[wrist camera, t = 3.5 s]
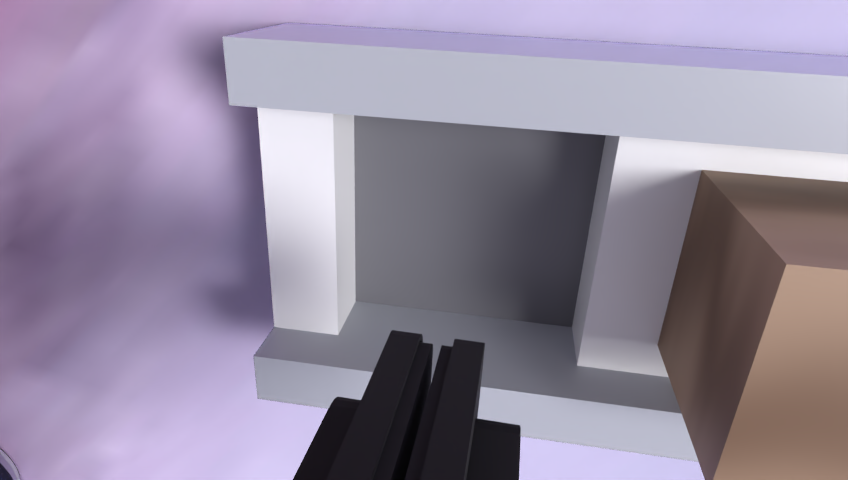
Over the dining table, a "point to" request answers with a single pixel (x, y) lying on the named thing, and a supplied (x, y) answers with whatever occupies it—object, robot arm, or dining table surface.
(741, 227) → the walnut block
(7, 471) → the beverage can
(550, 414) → the trap track
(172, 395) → the dining table surface
